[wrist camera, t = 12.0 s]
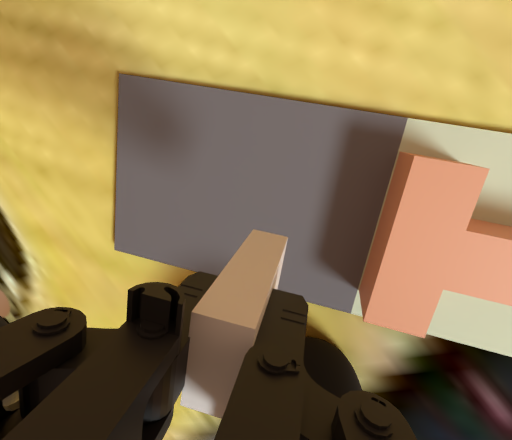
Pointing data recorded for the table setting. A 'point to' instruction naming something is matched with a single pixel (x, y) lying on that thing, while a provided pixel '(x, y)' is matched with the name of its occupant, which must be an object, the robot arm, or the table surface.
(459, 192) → the t block
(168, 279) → the table surface
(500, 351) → the mat
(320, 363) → the mug
